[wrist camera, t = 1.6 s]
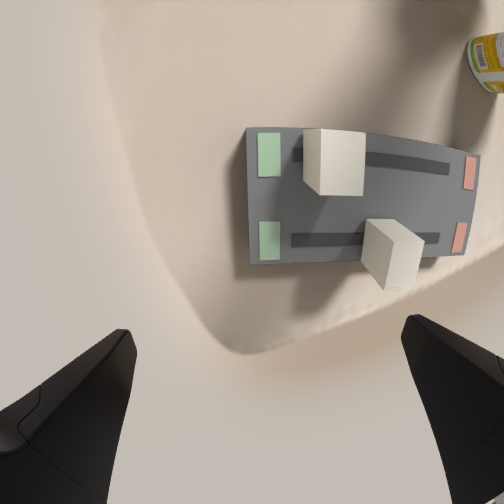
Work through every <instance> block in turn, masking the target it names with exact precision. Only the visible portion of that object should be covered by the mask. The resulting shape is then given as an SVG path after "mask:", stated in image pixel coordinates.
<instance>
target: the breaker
mask: <svg viewBox="0 0 504 504" xmlns="http://www.w3.org/2000/svg"><path fill="white" fill-rule="evenodd" d="M365 148H366V133H363V132H354V131H343V130H330V129H308V130H303V181H304V182H305V183H306V184H307V185H309V186H310V187H311V188H312V189H313V190H314V191H316V192H317V193H318V194H319V195H340V196H363V187H364V171H365Z"/></svg>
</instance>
